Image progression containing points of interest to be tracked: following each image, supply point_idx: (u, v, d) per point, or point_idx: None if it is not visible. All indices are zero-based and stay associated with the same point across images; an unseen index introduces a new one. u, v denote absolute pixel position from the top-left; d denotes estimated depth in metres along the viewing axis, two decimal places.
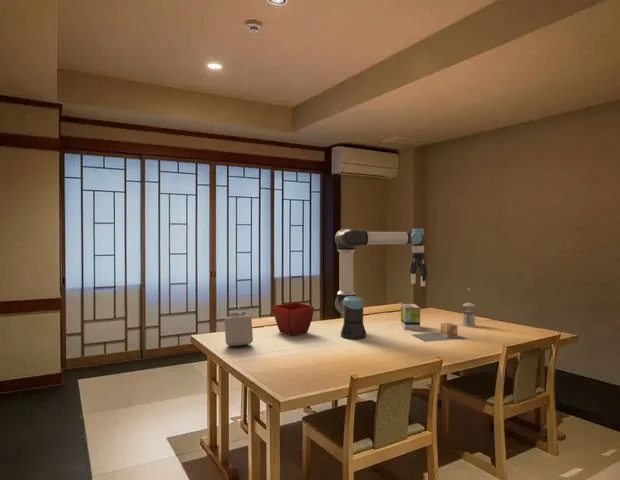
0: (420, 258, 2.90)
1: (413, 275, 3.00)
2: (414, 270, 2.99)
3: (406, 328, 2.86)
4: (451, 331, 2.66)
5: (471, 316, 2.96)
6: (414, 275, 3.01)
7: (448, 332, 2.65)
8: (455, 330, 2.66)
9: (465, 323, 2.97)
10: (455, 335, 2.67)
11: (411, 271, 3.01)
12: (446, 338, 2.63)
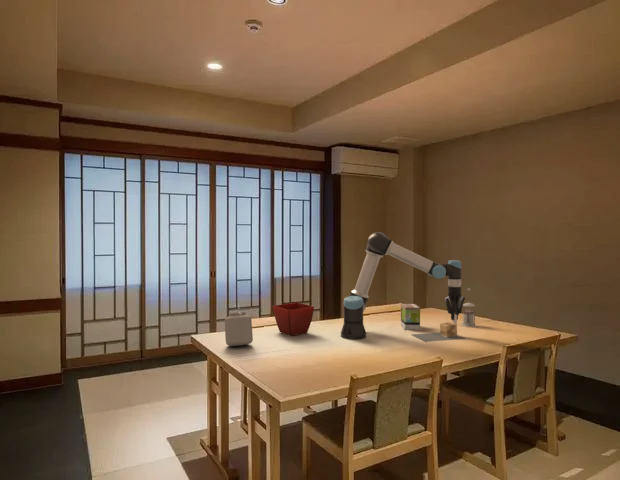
0: None
1: None
2: (455, 308, 2.70)
3: (406, 328, 2.86)
4: (451, 331, 2.66)
5: (471, 316, 2.96)
6: None
7: (448, 332, 2.65)
8: (455, 329, 2.66)
9: (465, 323, 2.97)
10: (455, 334, 2.67)
11: None
12: (446, 338, 2.63)
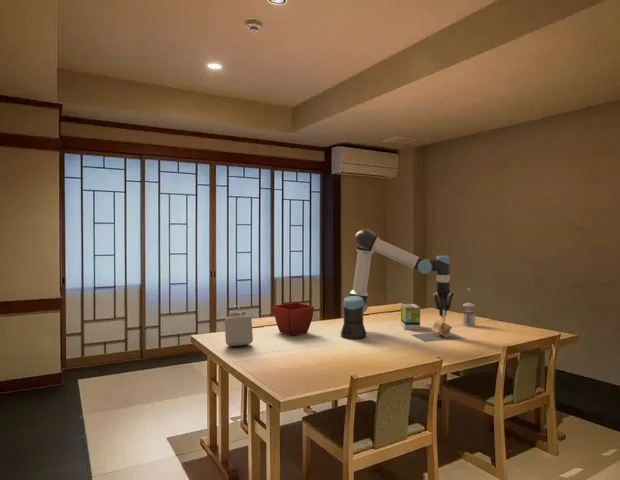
0: None
1: None
2: (444, 304, 2.68)
3: (406, 328, 2.86)
4: (444, 330, 2.65)
5: (471, 316, 2.96)
6: None
7: (443, 333, 2.65)
8: (446, 326, 2.65)
9: (465, 323, 2.97)
10: (450, 328, 2.66)
11: None
12: (446, 338, 2.63)
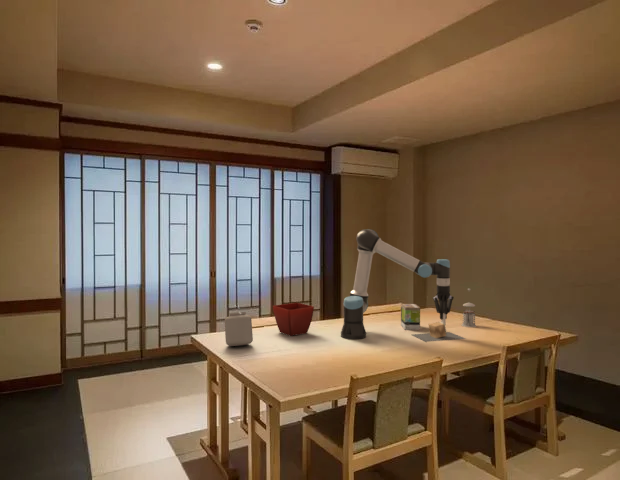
0: None
1: None
2: (444, 308, 2.68)
3: (406, 328, 2.86)
4: (441, 331, 2.64)
5: (471, 316, 2.96)
6: None
7: (442, 334, 2.64)
8: (439, 327, 2.64)
9: (465, 323, 2.97)
10: (444, 326, 2.65)
11: None
12: (446, 338, 2.63)
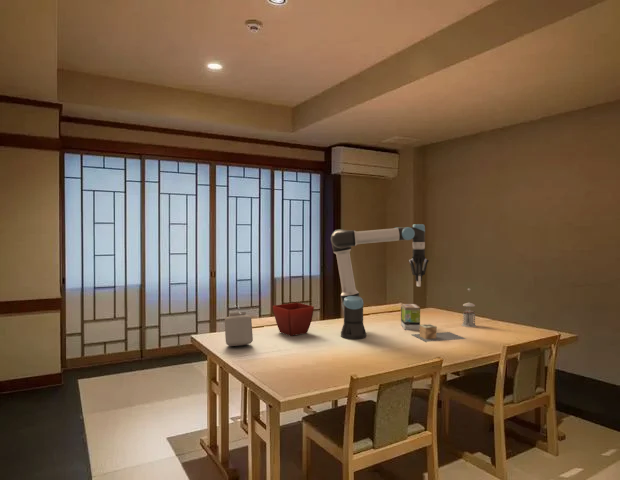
0: None
1: None
2: (419, 270, 2.82)
3: (406, 328, 2.86)
4: (431, 332, 2.63)
5: (471, 316, 2.96)
6: None
7: (434, 331, 2.63)
8: (427, 333, 2.62)
9: (465, 323, 2.97)
10: (427, 328, 2.62)
11: None
12: (446, 338, 2.63)
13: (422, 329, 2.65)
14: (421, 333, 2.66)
